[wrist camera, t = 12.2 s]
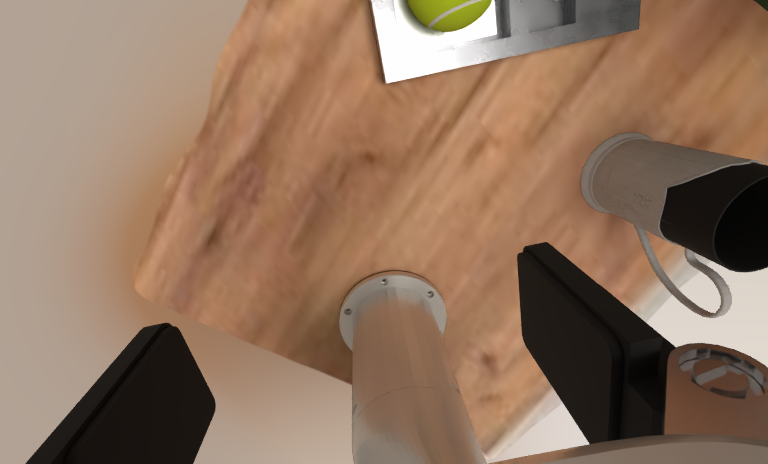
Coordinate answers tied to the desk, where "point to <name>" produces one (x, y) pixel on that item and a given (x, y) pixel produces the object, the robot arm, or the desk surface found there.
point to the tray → (491, 32)
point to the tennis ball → (448, 13)
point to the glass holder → (684, 204)
